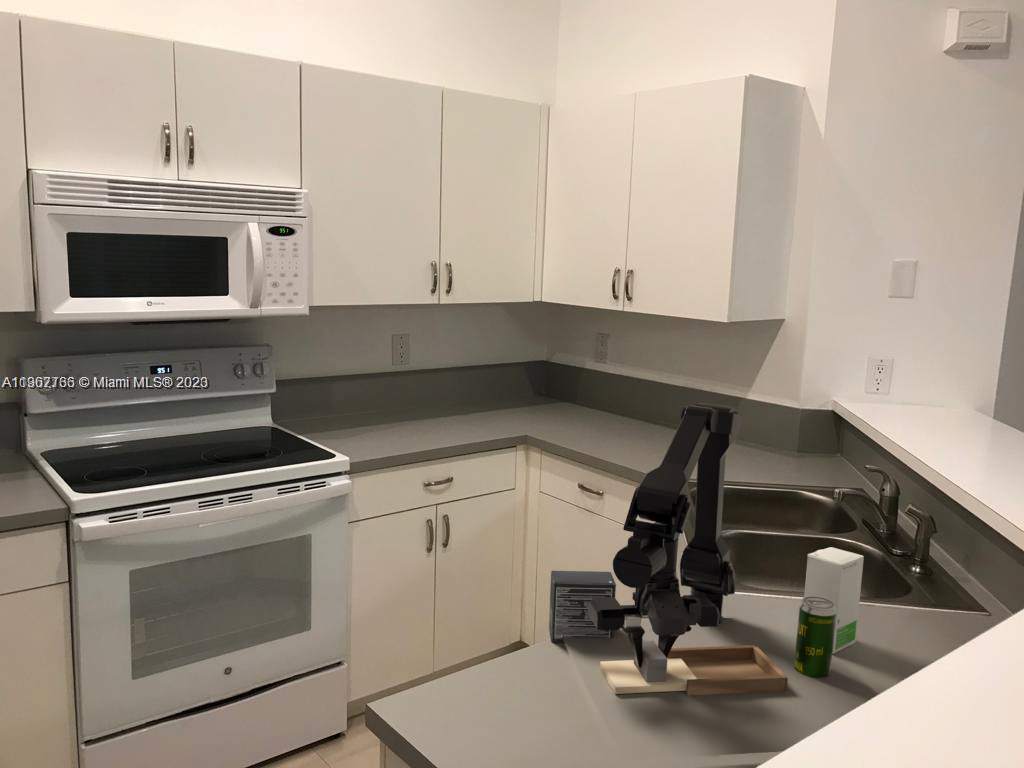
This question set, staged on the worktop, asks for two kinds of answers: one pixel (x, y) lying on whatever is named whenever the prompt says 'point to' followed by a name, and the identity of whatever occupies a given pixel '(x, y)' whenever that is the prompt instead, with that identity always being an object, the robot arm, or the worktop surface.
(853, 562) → the skincare box
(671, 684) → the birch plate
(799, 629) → the beer can
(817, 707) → the worktop surface
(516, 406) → the worktop surface
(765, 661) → the walnut tray
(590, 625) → the small box
